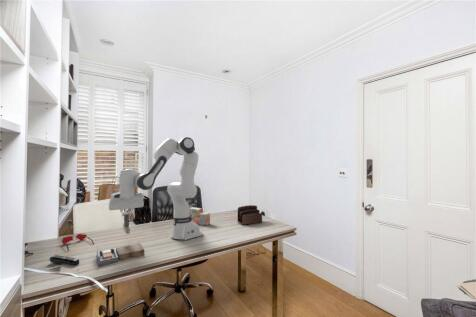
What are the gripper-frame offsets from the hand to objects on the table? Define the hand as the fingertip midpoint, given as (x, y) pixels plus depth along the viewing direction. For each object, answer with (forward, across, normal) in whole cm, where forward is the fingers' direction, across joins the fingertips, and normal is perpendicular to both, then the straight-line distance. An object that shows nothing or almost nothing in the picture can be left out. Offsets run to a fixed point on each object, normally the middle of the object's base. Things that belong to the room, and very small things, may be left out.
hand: (126, 215), depth 144 cm
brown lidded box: (+19, -99, +2) cm, 101 cm away
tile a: (+16, +12, +14) cm, 24 cm away
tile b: (+16, +12, +20) cm, 28 cm away
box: (+19, +12, +17) cm, 28 cm away
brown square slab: (+19, 0, +17) cm, 25 cm away
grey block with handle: (+10, 0, 0) cm, 10 cm away
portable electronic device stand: (+19, +31, +10) cm, 38 cm away
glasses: (+19, +26, -18) cm, 37 cm away
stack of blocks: (+19, -60, -22) cm, 67 cm away
